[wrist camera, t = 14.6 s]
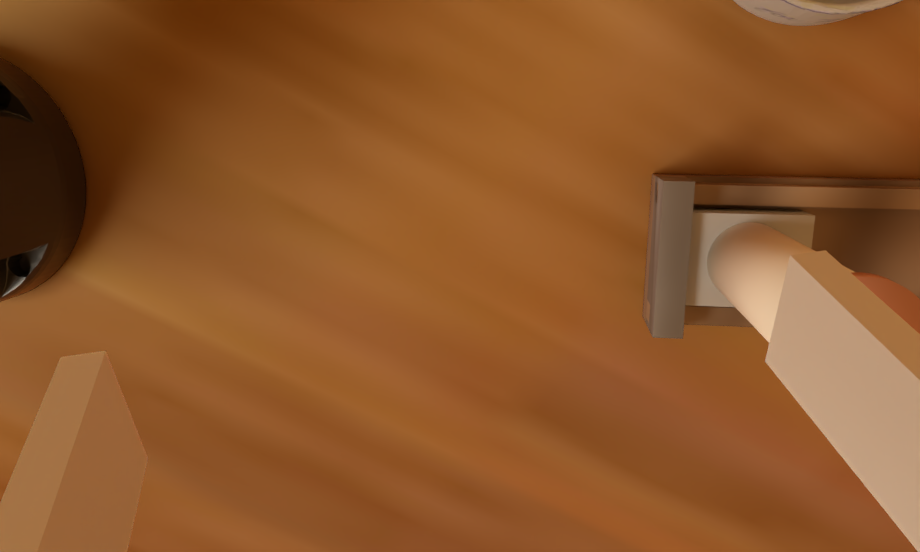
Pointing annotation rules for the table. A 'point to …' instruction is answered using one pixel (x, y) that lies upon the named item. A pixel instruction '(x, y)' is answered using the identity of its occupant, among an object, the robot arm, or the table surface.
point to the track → (828, 198)
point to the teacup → (810, 10)
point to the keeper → (763, 263)
